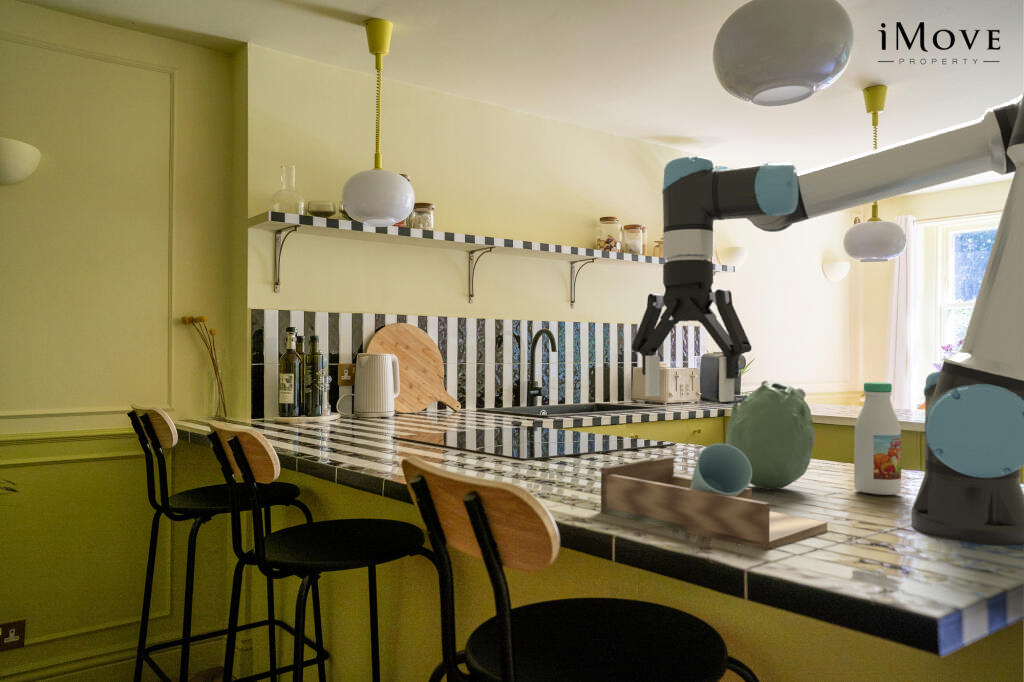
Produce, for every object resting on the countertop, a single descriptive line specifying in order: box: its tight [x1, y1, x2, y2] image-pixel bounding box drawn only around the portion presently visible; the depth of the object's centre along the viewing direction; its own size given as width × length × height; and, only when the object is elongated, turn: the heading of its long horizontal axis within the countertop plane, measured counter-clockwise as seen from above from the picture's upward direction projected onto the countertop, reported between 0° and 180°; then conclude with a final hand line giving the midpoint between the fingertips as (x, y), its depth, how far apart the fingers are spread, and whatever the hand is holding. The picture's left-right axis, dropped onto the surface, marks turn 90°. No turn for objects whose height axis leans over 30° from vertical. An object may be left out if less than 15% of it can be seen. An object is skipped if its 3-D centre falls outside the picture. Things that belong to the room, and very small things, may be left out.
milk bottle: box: [853, 381, 902, 496], centre depth 134 cm, size 8×8×20 cm
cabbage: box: [725, 379, 816, 490], centre depth 137 cm, size 16×19×20 cm
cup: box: [690, 442, 752, 497], centre depth 106 cm, size 8×8×10 cm
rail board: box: [600, 456, 828, 551], centre depth 110 cm, size 28×17×8 cm, turn 41°
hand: (687, 398), depth 113 cm, fingers open, 13 cm apart
